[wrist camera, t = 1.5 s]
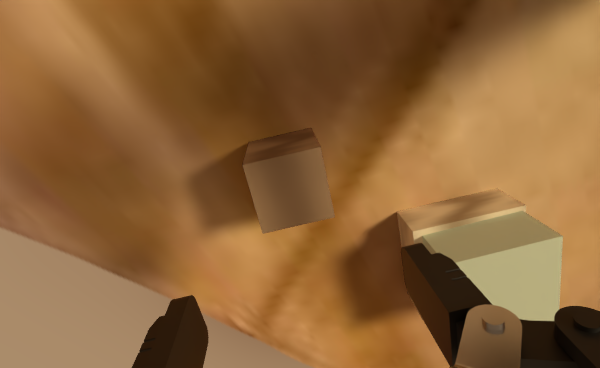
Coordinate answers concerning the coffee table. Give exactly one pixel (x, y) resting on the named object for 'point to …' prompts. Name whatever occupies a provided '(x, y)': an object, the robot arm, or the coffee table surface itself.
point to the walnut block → (288, 180)
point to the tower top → (508, 262)
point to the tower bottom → (454, 214)
